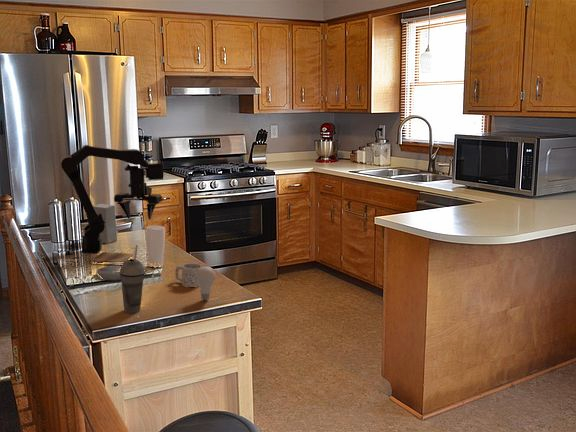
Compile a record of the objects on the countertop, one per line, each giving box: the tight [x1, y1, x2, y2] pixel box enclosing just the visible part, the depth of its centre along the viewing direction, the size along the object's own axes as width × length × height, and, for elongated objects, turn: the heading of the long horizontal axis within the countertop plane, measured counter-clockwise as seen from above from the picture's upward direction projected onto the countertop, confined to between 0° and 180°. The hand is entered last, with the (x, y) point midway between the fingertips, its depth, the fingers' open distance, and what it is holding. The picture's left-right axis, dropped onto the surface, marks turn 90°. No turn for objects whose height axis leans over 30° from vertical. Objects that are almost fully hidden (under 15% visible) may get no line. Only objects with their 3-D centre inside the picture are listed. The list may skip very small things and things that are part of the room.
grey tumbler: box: [145, 225, 166, 267], centre depth 220 cm, size 7×7×15 cm
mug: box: [174, 263, 203, 288], centre depth 202 cm, size 10×7×7 cm
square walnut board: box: [92, 251, 134, 263], centre depth 226 cm, size 12×12×2 cm
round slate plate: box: [96, 265, 121, 282], centre depth 208 cm, size 13×13×2 cm
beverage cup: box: [120, 244, 146, 314], centre depth 173 cm, size 7×7×20 cm
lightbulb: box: [196, 266, 217, 301], centre depth 186 cm, size 6×6×11 cm
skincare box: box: [93, 203, 118, 244], centre depth 252 cm, size 8×7×16 cm
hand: (139, 218), depth 242 cm, fingers open, 9 cm apart
